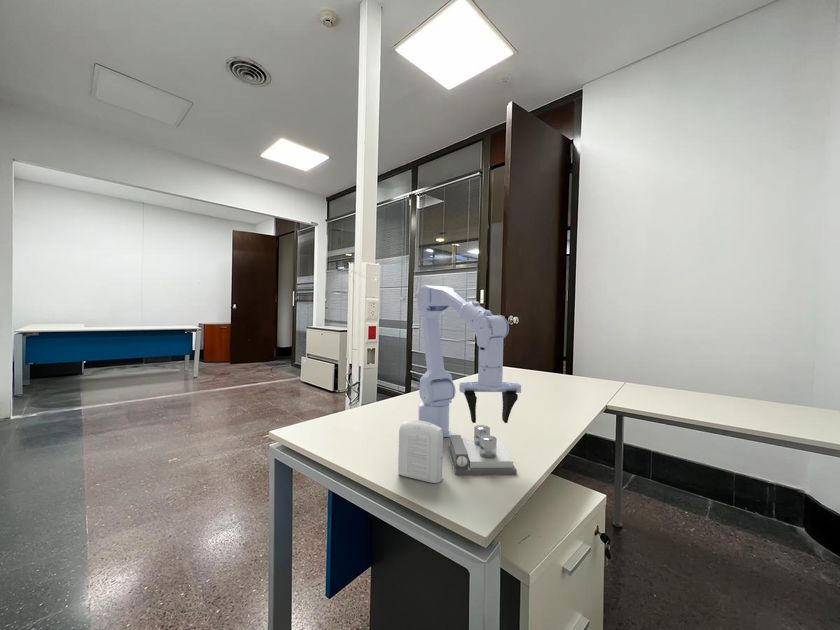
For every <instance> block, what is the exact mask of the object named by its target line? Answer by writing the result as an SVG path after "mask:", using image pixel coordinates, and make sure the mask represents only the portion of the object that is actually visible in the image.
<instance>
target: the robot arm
mask: <svg viewBox="0 0 840 630" xmlns="http://www.w3.org/2000/svg"><path fill="white" fill-rule="evenodd" d="M416 300H417V301H416V302H417V309H418V310H417V311H418V314H419V315H420V319H421V328H422V336H423V337H422V338H423V345H424V355H425V362H426V363H425V364H426V371H425V373H423V375H421V377H420V378H419V391H418V392H419V397H420V400H421V402H419V403H418V419H417V421H425V422H429V423H432V424H434V425H436V426H438V427H440V428H442V430H443V438H450V435H453V434H452V432H451V429H450V404H451V403H452V400H454V398H455V397H456V393H457V392H456V386H455V384H454V381H453V375H452V374H451V373H450V372H449V371H448V370H446V369H445V362H444V356H443V355H444V354H443V347H442V340H441V329H440V324H439V323H440V322H439V318H440V316H441V315H443V314H445V312H447V310H448V309H449V308H451V309H453V310H454V311H456V312H458V313H459V319H460V320H461V321H462V322H464V323H465V324H466V325H467V326H469V327H470V328H472V329H473V333H474V335H475V338H476V344H477V346H478V365H477V366H478V368H477V369H478V371H477V372H478V374H477V377H478V378H477V380H476V381H469V382H468V381H467V382H459V385H458V387H459V389H458V391H459V393H463V394H464V397H465V400H466V402H467V405H468V408H469V413H470V419H471V423H473V424H476V423H477V412H476V409H477V402H478V401H477V399H478V397H477V396H476V393H501V396H502V413H501V414H502V415H501V418H502V421H503V422H504V424H508V423H509V422H508V421H509V419H510V418H509V417H510V416H511V415H510V414H511V412H512V409H513V408H514V405H515V403H516V402H517V401H518V397H519V394H521V393H522V384H520V383H519V382H507V381H503V375H504V374H503V369H504V368H503V365H504V339H505V338H506V337H507V336H508V334H509V331H510V324H509V321H508V320H507V319H506V317H505V316H504V315H501V314H496V315H494V314H493V313H492V311H491V310H490V309H485V308H484V307H482V306H481V305H480V302H479V301H477V300H476V301H466V300H465V299H464V298H462V297H461V295H460V294H458V293H456V289H455V288H453V287H451V286H449V285H446V286H443V285H442V286H441V285H427V284H424V285H421V286H420V287H419V289H418V291H417V294H416Z"/></svg>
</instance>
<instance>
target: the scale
mask: <svg viewBox="0 0 840 630" xmlns="http://www.w3.org/2000/svg"><path fill="white" fill-rule="evenodd" d="M447 446H448V447H447V448H448V449H447V450H448V453H449V456H450V459H451V463H452V467H453V470H454V474H455V475H456V476H457V475H461V476H462V475H463V476H464V475H469V476H470V475H471V476H472V475H473V476H474V475H475V476H476V475H517V471H518V470H517V468H516V467H515V465H514V461H513V459H512V457H511V455H509V452H508V451H507V450H506V448H505V446H504V445H503V444H502V443H501V441H498V440H497V447H496V457H495V458H492V459H488V458H483V457H481V456H480V455H479V446H478V445H476V444H475V443H474V440H473V441H472V440H471V441H469V440H467V441H463V438H462V436H461V434H452V435H450V437H449V445H447Z"/></svg>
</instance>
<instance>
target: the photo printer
mask: <svg viewBox="0 0 840 630" xmlns="http://www.w3.org/2000/svg"><path fill="white" fill-rule="evenodd" d="M443 454H444V437H443V430H442V428H440V427H438V426H436V425H434V424H432V423H429V422H425V421H418V419H417V420H406V421H403V422H402V423H401V424H400V426H399V431H398V456H397V457H398V458H397V460H398V462H397V463H398V465H397V466H398V467H397V468H398V469H397V473H398V475H400V476H403V477H406V478H411V479H415V480H419V481H421V482H422V481H423V482H427V483H432V484H438V483H440V482H442V480H443V462H444V461H443V457H444V455H443Z"/></svg>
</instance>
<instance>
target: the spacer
mask: <svg viewBox="0 0 840 630" xmlns="http://www.w3.org/2000/svg"><path fill="white" fill-rule="evenodd" d="M497 441H498V439H497V437H496V436H495V435H494V436H493V435H491V434H490V435H482V436H480V444H479V455H480V456H481V457H483V458H488V459H492V458H495V457H496V447H497Z"/></svg>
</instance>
